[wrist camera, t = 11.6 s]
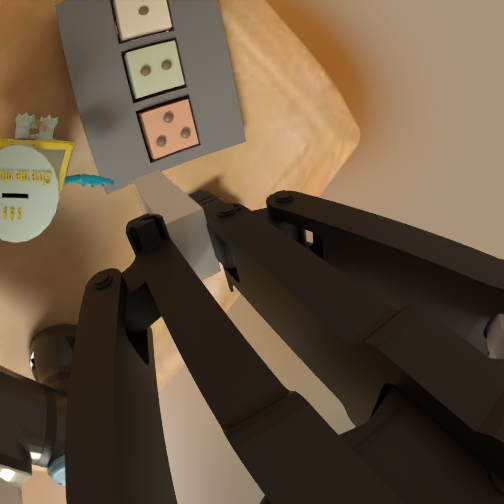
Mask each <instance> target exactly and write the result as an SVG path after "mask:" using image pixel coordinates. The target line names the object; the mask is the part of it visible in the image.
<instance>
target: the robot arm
mask: <svg viewBox="0 0 504 504" xmlns="http://www.w3.org/2000/svg"><path fill="white" fill-rule="evenodd" d="M132 182H133V185H134V187H135V190H136V193H137V196H138V199H139V201H140V204H141V207H142V210H143V212H144V215H142V216H140V217H138V218H136V219H133V220H131V221H129V222H128V224H127V226H126V235H127V237H128V239H129V242H130V244H131V246H132V248H133V251H134V253H135V255H136V257H135V260H134V262H133V263H132V264H131V266H130V267H129V268H127V269H126V270H125V271H124V272H122V273H121V272H120V271H119V270H118V269H114V268H110V269H106V270H103V271H100V272H98V273H96V274H95V275H94V276H93V277H92V278H91V279H90V280H89V282H88V283H87V285H86V288H85V292H84V296H83V301H82V306H81V310H80V315H79V320H78V325H77V326H75V325H57V326H52V327H49V328H47V329H45V330H43V331H42V332H40V333H39V334H38V335H37V336H36V337H35V338H34V340H33V341H32V343H31V346H30V356H29V361H30V367H31V370H32V373H33V376H34V378H35V381H34V380H32V379H29V378H27V377H24V376H22V375H20V374H18V373H15V372H13V371H11V370H9V369H7V368H5V367H3V366H1V365H0V504H23V500H22V490H21V487H22V485H23V484H24V483H25V482H26V481H27V480H29V479H30V478H31V477H32V465H31V464H34V465H37V466H41V467H45V468H48V470H47V471H48V474H49V475H50V477H51V479H52V480H53V481H54V482H55V483H58V484H60V485H62V486H66V500H67V504H177V500H176V495H175V491H174V486H173V482H172V477H171V472H170V467H169V462H168V456H167V451H166V445H165V439H164V433H163V426H162V420H161V413H160V405H159V398H158V389H157V380H156V370H155V359H154V348H153V334H152V329H151V327H150V325H152V324H153V323H154V322H155V321H156V320H158V319H159V318H160V317H161V316H162V318H163V320H164V322H165V324H166V326H167V328H168V330H169V332H170V334H171V336H172V338H173V340H174V342H175V344H176V346H177V348H178V350H179V352H180V354H181V356H182V358H183V360H184V362H185V364H186V366H187V368H188V369H189V371H190V373H191V375H192V377H193V379H194V381H195V382H196V384H197V386H198V388H199V390H200V391H201V393H202V395H203V397H204V399H205V400H206V402H207V404H208V405H209V407H210V409H211V411H212V412H213V414H214V416H215V417H216V419H217V421H218V422H219V424H220V425H221V427H222V429H223V432H224V434H225V436H226V437H227V439H228V441H229V442H230V444H231V446H232V447H233V449H234V451H235V452H236V454H237V455H238V457H239V458H240V460H241V461H242V463H243V464H244V466H245V467H246V468H247V470H248V472H249V473H250V474H251V476H252V477H253V479H254V480H255V482H256V483H257V484H258V486H259V487H260V489H261V490H262V491H263V493H264V494H265V496H264V498H263V499H262V501H261V502H260V504H504V260H503V259H498V258H496V257H494V256H491V255H489V254H486V253H484V252H481V251H479V250H476V249H474V248H471V247H468V246H466V245H463V244H461V243H458V242H455V241H453V240H450V239H447V238H444V237H442V236H439V235H436V234H433V233H430V232H427V231H424V230H422V229H419V228H416V227H413V226H410V225H407V224H404V223H401V222H398V221H395V220H392V219H389V218H386V217H382V216H379V215H376V214H373V213H370V212H366V211H363V210H360V209H356V208H353V207H350V206H346V205H343V204H340V203H336V202H333V201H329V200H325V199H322V198H318V197H315V196H311V195H307V194H303V193H300V192H296V191H285V190H283V191H278V192H276V193H274V194H271V195H270V196H269V197H267V200H266V204H267V208H263V209H259V210H254V211H251V210H249V209H248V208H246V207H245V206H243V205H241V204H234V203H232V204H225V203H224V202H222V201H221V200H220V199H218V198H217V197H215V196H214V195H213V194H211V193H210V192H208V191H201V190H200V191H197V192H195V193H192V194H190V195H187V194H186V193H185V192H183V191H182V190H181V189H180V188H179V187H178V186H176V185H175V184H174V183H173V182H172V181H171V180H169V179H168V178H167V177H166V176H165V175H164V174H163V173H161V172H160V171H159V170H157V171H154V172H152V173H149V174H147V175H144V176H142V177H139V178H137V179H135V180H132ZM306 230H308V231H311V232H313V243H310V242H307V241H306ZM218 260H219V262H220V263H221V264H222V265H223V268H224V271H225V275H226V278H227V281H228V285H229V288H230V291H231V292H233V291H234V290H233V285H234V286H235V287H236V288H237V289H238V291H239V292H240V293H241V294H242V295H243V296H244V297H245V298H246V300H247V301H248V302H249V303H250V304H251V305H252V306H253V307H254V309H255V310H256V311H257V312H258V313H259V314H260V315H261V316H262V317H263V318H264V320H265V321H266V322H267V323H268V324H269V325H270V326H271V327H272V329H273V330H274V331H275V332H276V333H277V334H278V335H279V336H280V337H281V338H282V339H283V340H284V342H285V343H286V344H287V345H288V346H289V347H290V348H291V349H292V350H293V351H294V353H295V354H296V355H297V356H298V357H299V358H300V359H301V360H302V361H303V362H304V363H305V364H306V365H307V366H308V367H309V369H310V370H311V371H312V372H313V373H314V374H315V375H316V376H317V377H318V378H319V379H320V380H321V381H322V382H323V383H324V384H325V386H327V388H328V389H329V390H330V391H331V392H332V393H333V394H334V395H335V396H336V397H337V398H338V399H339V400H340V401H341V403H342V404H343V406H344V407H345V410H346V412H347V415H348V417H349V418H350V420H351V421H352V423H353V424H354V425H355V426H356V428H354V429H351V430H349V431H347V432H345V433H343V434H340V435H338V434H337V433H336V432H335V431H334V430H333V429H332V428H331V427H330V426H329V425H328V423H327V422H326V421H325V420H324V419H323V418H322V417H321V416H320V415H319V414H318V412H317V411H316V410H315V409H314V408H313V407H312V406H311V405H310V403H309V402H308V401H307V400H305V398H304V397H303V396H301V395H300V394H299V393H297V392H296V391H289V390H288V389H286V388H285V387H284V386H283V384H281V382H280V381H279V380H278V379H277V377H276V376H275V375H274V374H273V373H272V371H271V370H270V369H269V368H268V366H267V365H266V364H265V363H264V362H263V360H262V359H261V358H260V357H259V355H258V354H257V353H256V352H255V350H254V349H253V348H252V347H251V345H250V344H249V343H248V342H247V340H246V339H245V338H244V337H243V335H242V334H241V333H240V331H239V330H238V329H237V327H236V326H235V325H234V324H233V322H232V321H231V320H230V318H229V317H228V316H227V315H226V313H225V312H224V311H223V309H222V308H221V307H220V305H219V304H218V303H217V301H216V300H215V299H214V297H213V296H212V295H211V293H210V292H209V291H208V289H207V288H206V287H205V285H204V284H203V283H202V281H201V280H203V279H205V278H207V277H210V276H212V275H214V274H216V273H218V272H220V271H221V269H220V266H219V263H218Z"/></svg>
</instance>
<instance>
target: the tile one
mask: <svg viewBox="0 0 504 504" xmlns="http://www.w3.org/2000/svg"><path fill="white" fill-rule="evenodd" d="M113 11H114V16H115V21H116V26H117V31H118V35H119V40H120V43H124V42H127V41H131V40H134V39H138V38H142V37H146V36H150V35H154V34H158V33H163V32H166V31H167V30H168V29H170V28H171V27H172V25H171V20H170V15H169V11H168V6H167V1H166V0H114V2H113Z"/></svg>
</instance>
